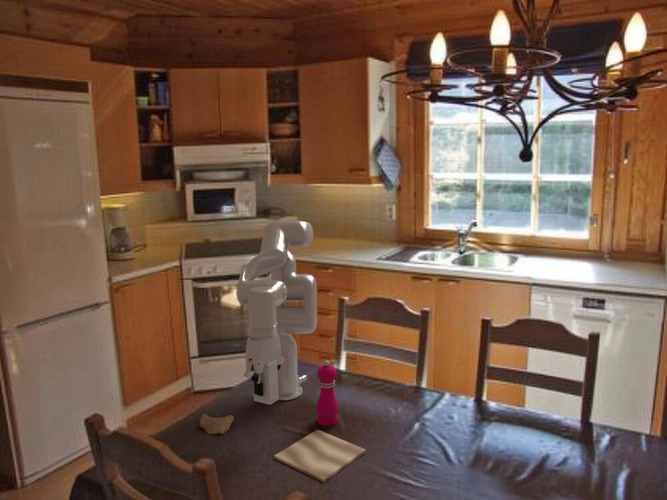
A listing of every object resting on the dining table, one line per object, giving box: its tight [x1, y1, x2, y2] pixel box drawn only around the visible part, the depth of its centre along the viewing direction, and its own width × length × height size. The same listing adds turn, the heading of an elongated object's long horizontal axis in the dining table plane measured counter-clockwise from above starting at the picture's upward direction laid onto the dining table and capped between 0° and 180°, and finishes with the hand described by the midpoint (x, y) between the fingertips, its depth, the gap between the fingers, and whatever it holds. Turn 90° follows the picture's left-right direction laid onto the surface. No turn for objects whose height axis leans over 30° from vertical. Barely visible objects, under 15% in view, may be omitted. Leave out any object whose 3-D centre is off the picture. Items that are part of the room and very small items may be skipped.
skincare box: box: [252, 360, 279, 405], centre depth 156 cm, size 6×4×12 cm
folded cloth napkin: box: [274, 429, 367, 483], centre depth 153 cm, size 18×18×1 cm
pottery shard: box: [198, 413, 235, 435], centre depth 170 cm, size 11×4×10 cm
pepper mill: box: [315, 360, 340, 427], centre depth 170 cm, size 7×7×20 cm
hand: (265, 390), depth 157 cm, fingers closed on skincare box, 4 cm apart
